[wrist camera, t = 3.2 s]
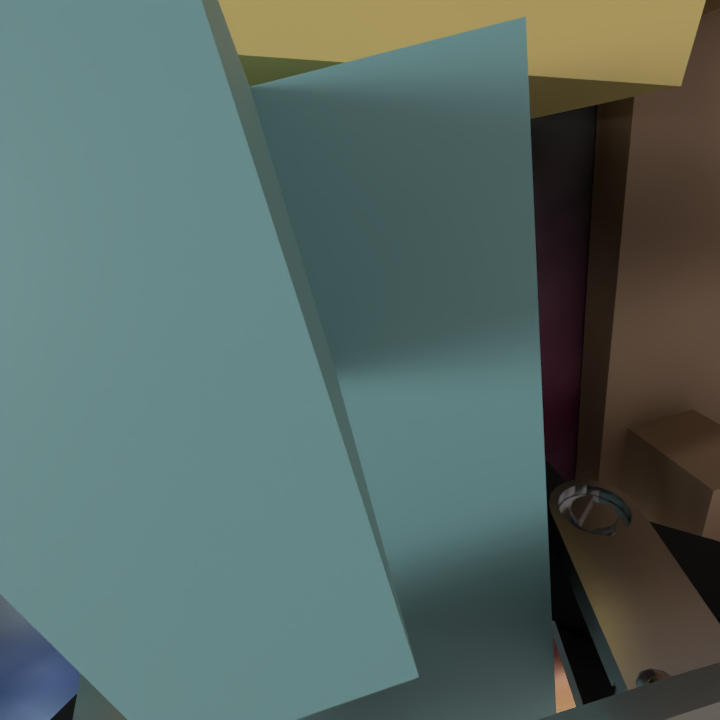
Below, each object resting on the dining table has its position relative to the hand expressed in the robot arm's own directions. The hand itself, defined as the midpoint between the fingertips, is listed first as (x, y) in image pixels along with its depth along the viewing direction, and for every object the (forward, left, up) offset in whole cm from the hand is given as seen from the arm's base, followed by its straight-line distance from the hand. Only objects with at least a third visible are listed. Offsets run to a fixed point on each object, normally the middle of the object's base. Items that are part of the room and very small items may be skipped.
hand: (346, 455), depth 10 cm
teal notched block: (0, 0, -1) cm, 1 cm away
